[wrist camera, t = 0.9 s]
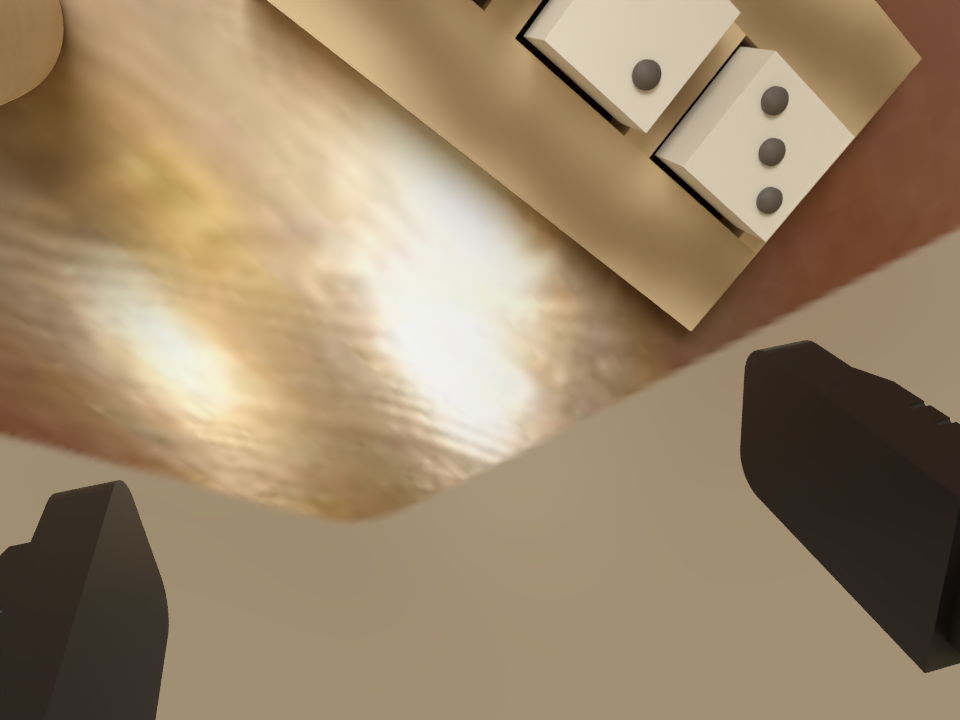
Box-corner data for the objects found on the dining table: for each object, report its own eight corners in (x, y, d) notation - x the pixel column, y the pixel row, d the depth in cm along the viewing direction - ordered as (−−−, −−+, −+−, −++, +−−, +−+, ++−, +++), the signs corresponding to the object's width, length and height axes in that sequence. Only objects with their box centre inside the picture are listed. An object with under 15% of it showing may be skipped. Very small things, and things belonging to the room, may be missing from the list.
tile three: (740, 46, 31) (778, 51, 28) (816, 127, 33) (858, 137, 30) (654, 154, 32) (685, 167, 29) (734, 225, 34) (768, 243, 31)
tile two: (613, -89, 28) (645, -95, 25) (706, 10, 30) (743, 13, 27) (522, 36, 29) (546, 40, 26) (619, 123, 31) (648, 134, 28)
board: (495, -419, 24) (513, -451, 23) (887, 54, 34) (921, 58, 32) (241, -21, 27) (239, -21, 25) (670, 315, 37) (690, 331, 35)
